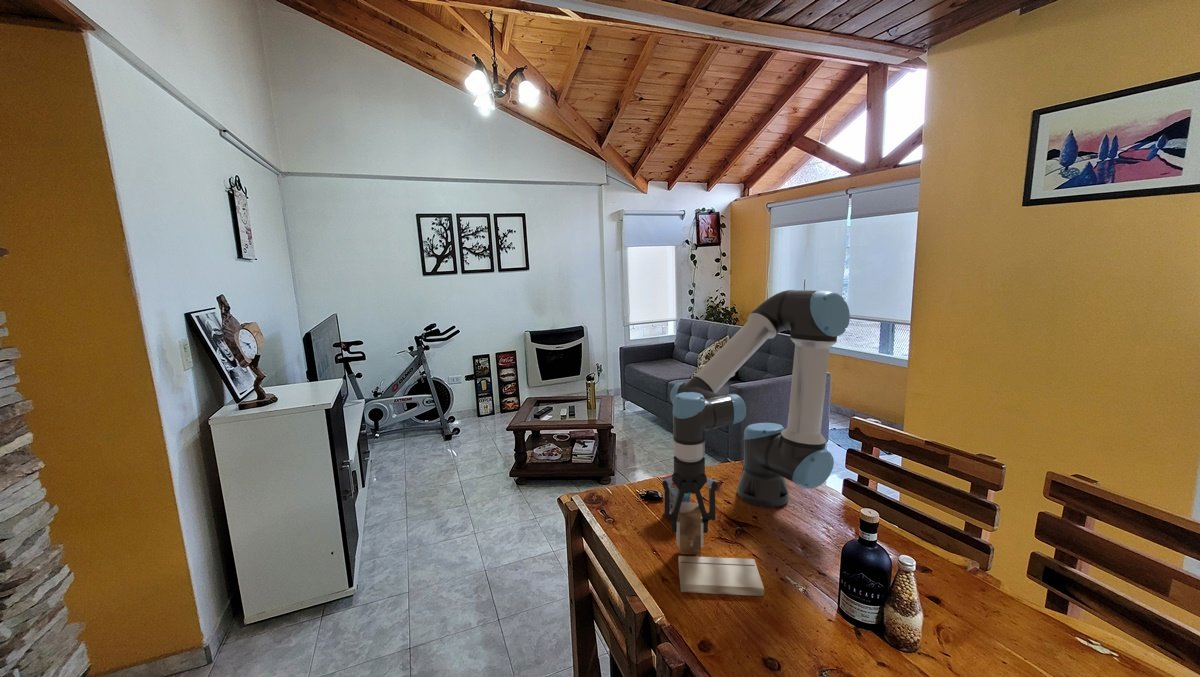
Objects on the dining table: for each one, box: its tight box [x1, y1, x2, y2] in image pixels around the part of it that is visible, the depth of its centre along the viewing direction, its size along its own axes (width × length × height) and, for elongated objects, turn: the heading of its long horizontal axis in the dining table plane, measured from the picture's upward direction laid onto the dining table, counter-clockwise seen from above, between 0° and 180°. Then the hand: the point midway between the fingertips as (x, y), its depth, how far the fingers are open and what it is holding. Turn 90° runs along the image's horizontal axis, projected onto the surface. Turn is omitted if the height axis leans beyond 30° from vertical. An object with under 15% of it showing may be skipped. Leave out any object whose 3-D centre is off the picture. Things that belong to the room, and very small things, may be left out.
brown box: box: [679, 501, 702, 556], centre depth 111 cm, size 5×9×11 cm, turn 173°
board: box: [677, 555, 765, 597], centre depth 105 cm, size 18×10×2 cm, turn 83°
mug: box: [663, 474, 692, 516], centre depth 132 cm, size 12×9×11 cm
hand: (689, 543), depth 113 cm, fingers closed on brown box, 5 cm apart
